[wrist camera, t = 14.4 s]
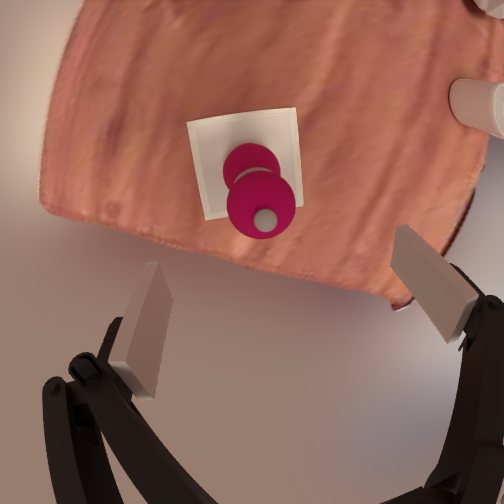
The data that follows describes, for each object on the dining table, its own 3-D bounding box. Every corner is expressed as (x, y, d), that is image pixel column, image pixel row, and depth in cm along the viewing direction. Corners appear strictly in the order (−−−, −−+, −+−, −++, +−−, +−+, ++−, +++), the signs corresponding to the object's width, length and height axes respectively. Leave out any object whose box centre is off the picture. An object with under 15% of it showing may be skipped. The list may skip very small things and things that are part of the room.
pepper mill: (212, 165, 37) (197, 228, 20) (248, 128, 35) (267, 156, 18) (249, 198, 40) (265, 281, 23) (285, 163, 38) (332, 223, 20)
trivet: (187, 121, 34) (186, 122, 34) (293, 107, 35) (295, 107, 34) (205, 217, 42) (205, 220, 41) (302, 203, 42) (303, 206, 41)
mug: (455, 68, 30) (500, 71, 20) (486, 106, 33) (527, 117, 23) (441, 105, 34) (487, 114, 24) (474, 141, 37) (515, 157, 27)
